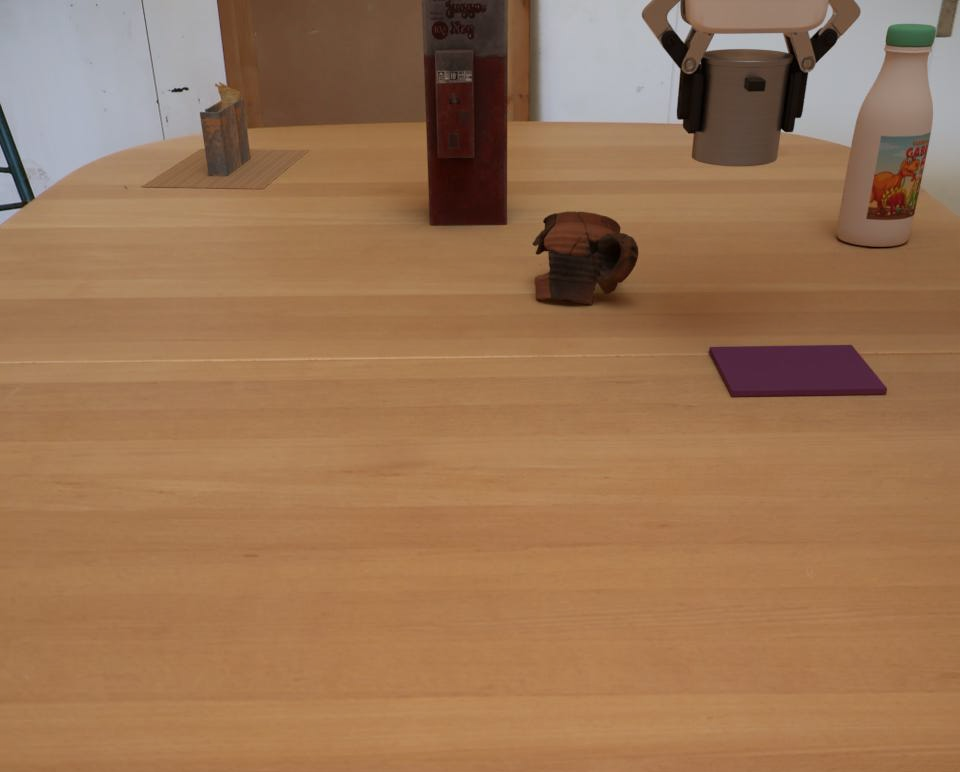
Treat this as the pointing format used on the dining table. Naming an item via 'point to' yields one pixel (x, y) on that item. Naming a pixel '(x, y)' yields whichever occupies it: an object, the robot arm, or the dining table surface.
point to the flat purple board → (795, 371)
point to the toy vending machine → (466, 110)
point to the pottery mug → (583, 256)
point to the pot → (741, 106)
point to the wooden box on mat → (227, 152)
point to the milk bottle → (890, 144)
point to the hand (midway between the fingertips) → (737, 127)
